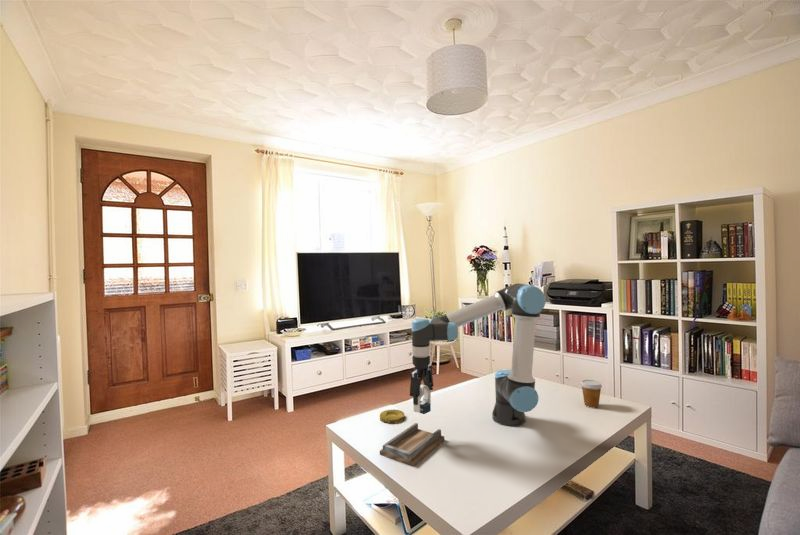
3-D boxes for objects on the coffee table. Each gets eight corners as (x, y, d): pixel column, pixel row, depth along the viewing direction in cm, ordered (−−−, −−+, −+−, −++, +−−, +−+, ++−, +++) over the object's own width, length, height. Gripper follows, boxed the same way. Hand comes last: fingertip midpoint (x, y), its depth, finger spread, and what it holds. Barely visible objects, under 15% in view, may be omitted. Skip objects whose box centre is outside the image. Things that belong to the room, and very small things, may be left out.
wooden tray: (444, 439, 160) (444, 430, 160) (413, 466, 140) (413, 455, 140) (412, 430, 169) (412, 422, 169) (379, 454, 149) (379, 444, 149)
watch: (411, 412, 160) (410, 386, 160) (423, 406, 166) (422, 381, 165) (421, 415, 156) (420, 389, 156) (433, 409, 162) (432, 384, 162)
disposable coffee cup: (602, 404, 193) (602, 381, 192) (601, 410, 185) (600, 386, 184) (582, 401, 198) (582, 378, 197) (580, 407, 190) (579, 383, 189)
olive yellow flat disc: (400, 425, 176) (400, 420, 176) (376, 422, 179) (376, 418, 179) (407, 415, 187) (407, 410, 187) (384, 412, 191) (384, 408, 190)
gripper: (426, 349, 171) (427, 398, 171) (399, 359, 154) (401, 414, 154) (440, 351, 167) (441, 402, 167) (415, 362, 150) (416, 419, 150)
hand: (422, 408), depth 161 cm, fingers closed on watch, 8 cm apart
